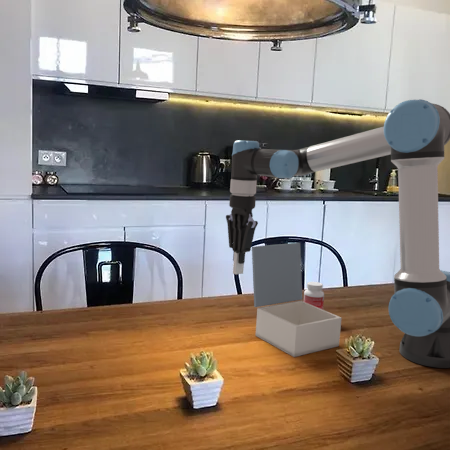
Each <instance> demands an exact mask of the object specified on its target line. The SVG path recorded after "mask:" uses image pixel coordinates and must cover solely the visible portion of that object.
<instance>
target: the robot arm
mask: <svg viewBox="0 0 450 450" xmlns="http://www.w3.org/2000/svg"><path fill="white" fill-rule="evenodd" d="M449 142H450V112H449V110H447V109H446V108H445V107H444V106H441V105H439V104H437V103H432V102H429V101H427V100H424V99H409V100H404V101H402V102H400V103H398V104H397V105H395V106H394V107H393V108H392V109H391V110H390V111H389V112H388V113H387V115H386V118H385V120H384V123H383V126H381V127H377V128H374V129H370V130H366V131H362V132H358V133H354V134H351V135H348V136H344V137H340V138H336V139H333V140H329V141H326V142H322V143H318V144H314V145H310V146H308V147H303V148H299V149H268V148H261V147H260V143H259V141H257V140H244V139H243V140H240V139H239V140H238V139H237V140H235V141H234V142H233V147H232V154H231V176H230V178H231V179H230V186H229V187H230V188H229V192H230V193H231V194H230V195H229V203H228V206H229V207H230V208H231V211H230V214H227V215H225V219H226V223H227V234H228V235H227V236H228V237H227V238H228V246H229V247H228V248H230V249H232V251H233V257H232V258H233V259H232V261H233V264H232V274H234V275H241V274H244V268H245V267H244V265H245V259H246V253H248V252H250V251H252V245H253V241H254V236H255V231H256V228H257V226H258V224H259V222H258V221H257V220H254V218H253V216H254V215H253V209H255V208H256V201H257V199H256V196H255V195H256V194H257V182H258V176H262V177H263V176H264V177H272V178H277V179H292V178H293V177H304V176H305V177H306V176H308V175H311V174H313V173H316V172H321V171H324V170H329V169H334V168H337V167H338V168H339V167H341V166H347V165H350V164H355V163H359V162H363V161H368V160H372V159H377V158H380V157H385V156H389V155H390V162H391V163H392V164H393V165H394V166H395V167H396V168H397V175H398V177H397V178H398V179H397V180H398V182H397V183H398V212H399V213H398V215H399V217H398V218H399V221H398V223H399V255H400V256H399V258H400V262H399V263H400V269H399V270H398V271H397V273H395V274H394V275H393V280H394V281H393V282H394V283H393V285H394V286H393V287H394V292H393V293H394V294H392V295H391V297H390V300H389V303H388V316H389V317H390V320H391V322H392V324H394V326H395V327H396V328H397V329H398V330H400V332H402V333H403V336H402V338H401V340H400V343H399V349H398V350H399V351H398V352H399V354H400V355H401V356H402V357H403V358H405V359H406V360H407V361H411V362H413V363H414V364H415V363H416V364H418V365H422V366H424V367H425V366H426V367H430V368H437V369H450V271H446V270H442V269H440V239H439V238H440V236H439V235H440V234H439V233H440V232H439V230H440V229H439V226H440V225H439V185H438V183H439V181H438V180H439V179H438V178H439V177H438V176H439V174H438V166H439V165H440V164H441V163H442V162H443V161H444V160H445V146H446V145H447V144H448V143H449Z"/></svg>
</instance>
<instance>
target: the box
mask: <svg viewBox="0 0 450 450" xmlns="http://www.w3.org/2000/svg"><path fill="white" fill-rule="evenodd" d="M256 308H257V309H256V322H255V323H256V324H255V337H257V338H259V339H261V340H263V341H264V342H266V343H268V344H269V345H272V346H273V347H275V348H277V349H279V350H280V351H282V352H284V353H285V354H287V355H290V356H291V357H293V358H297V357H300V356H301V357H302V356H305V355H307V354H312V353H316V352H321V351H324V350H328V349H333V348H336V347H339V345H340V339H341V329H342V327H341V326H342V316H341V317H340V316H339V315H336V314H334V313H332V312H329V311H327V310H325V309H323V310H322V309H320V308H318V307H315V306H313V305H310V304H308V303H306V302H303V300H296V301H290V302H284V303H278V304H272V305H266V306H260V307H256Z"/></svg>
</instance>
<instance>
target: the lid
mask: <svg viewBox="0 0 450 450" xmlns="http://www.w3.org/2000/svg"><path fill="white" fill-rule="evenodd" d="M301 251H302V250H301V242H293V243H282V244H281V243H279V244H270V245H269V244H268V245H258V246H251V260H252V262H251V263H252V281H253V283H252V284H253V285H252V286H253V287H252V289H253V307H254V308H260V307H266V306H272V305H278V304H284V303H290V302H296V301H303V285H302V283H303V281H302V257H301V256H302V254H301Z"/></svg>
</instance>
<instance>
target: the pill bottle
mask: <svg viewBox="0 0 450 450" xmlns="http://www.w3.org/2000/svg"><path fill="white" fill-rule="evenodd" d="M323 286H324V285H323V283H321V282H319V281H308V282H307V285H306V289H305V290H304V292H303V299H302V301H303V302H306V303H308V304H310V305H313V306H315V307H318V308H320V309H322V310H324V302H325V292H324V290H323V288H324V287H323Z"/></svg>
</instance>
